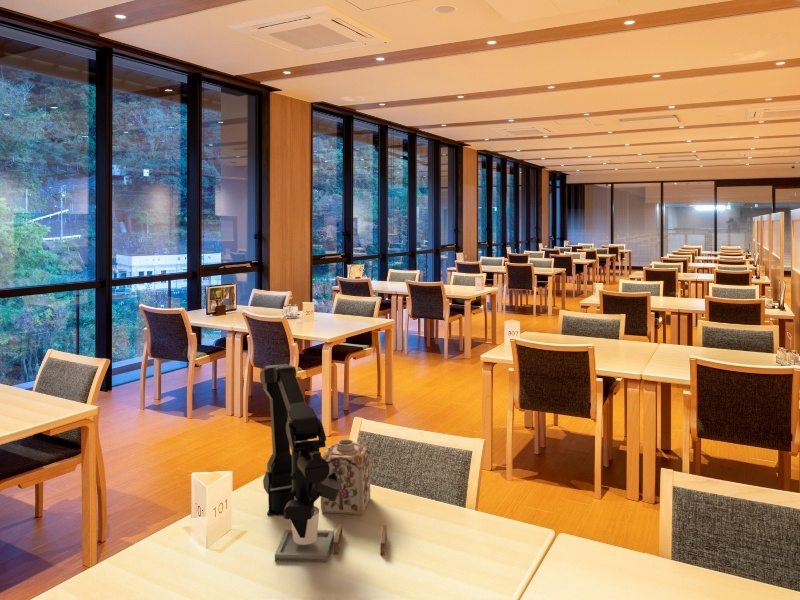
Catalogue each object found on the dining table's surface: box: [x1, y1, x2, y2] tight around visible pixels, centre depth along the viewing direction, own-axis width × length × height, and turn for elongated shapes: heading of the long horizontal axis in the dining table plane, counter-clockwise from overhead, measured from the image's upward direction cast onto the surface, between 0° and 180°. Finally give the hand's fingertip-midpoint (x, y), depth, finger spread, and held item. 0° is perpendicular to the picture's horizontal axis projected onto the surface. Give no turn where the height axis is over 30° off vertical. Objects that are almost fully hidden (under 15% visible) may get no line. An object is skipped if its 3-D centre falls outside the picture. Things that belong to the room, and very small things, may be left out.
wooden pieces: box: [332, 523, 388, 556], centre depth 156 cm, size 12×9×3 cm
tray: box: [274, 529, 335, 563], centre depth 154 cm, size 12×12×2 cm
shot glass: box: [291, 505, 320, 545], centre depth 154 cm, size 7×7×7 cm
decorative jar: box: [320, 439, 371, 516], centre depth 177 cm, size 12×12×18 cm
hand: (305, 530), depth 154 cm, fingers closed on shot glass, 6 cm apart
